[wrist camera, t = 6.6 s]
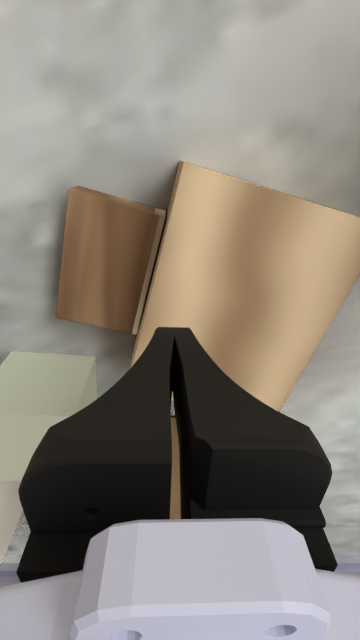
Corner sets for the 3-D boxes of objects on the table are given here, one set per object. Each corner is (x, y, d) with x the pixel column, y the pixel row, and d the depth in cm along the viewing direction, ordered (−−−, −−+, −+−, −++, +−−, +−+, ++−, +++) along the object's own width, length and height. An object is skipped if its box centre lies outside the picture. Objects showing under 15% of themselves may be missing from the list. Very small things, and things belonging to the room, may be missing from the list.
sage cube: (95, 355, 23) (74, 416, 17) (98, 414, 25) (80, 482, 20) (11, 350, 22) (-37, 412, 17) (24, 411, 25) (-15, 480, 20)
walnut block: (165, 216, 16) (68, 189, 15) (136, 334, 19) (56, 317, 19) (165, 210, 18) (79, 185, 17) (139, 318, 21) (66, 302, 21)
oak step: (341, 211, 18) (387, 226, 14) (257, 377, 24) (274, 419, 20) (180, 160, 16) (184, 162, 13) (132, 352, 22) (125, 392, 19)
